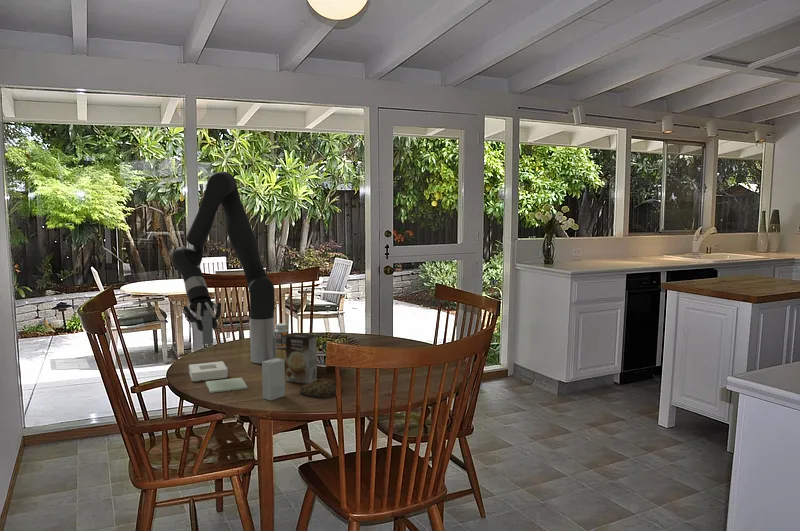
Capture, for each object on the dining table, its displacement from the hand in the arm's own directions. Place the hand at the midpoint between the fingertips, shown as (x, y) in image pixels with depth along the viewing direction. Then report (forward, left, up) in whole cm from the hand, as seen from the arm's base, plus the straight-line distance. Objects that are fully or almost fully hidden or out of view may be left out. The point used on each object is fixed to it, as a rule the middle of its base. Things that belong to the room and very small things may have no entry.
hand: (208, 329), depth 216 cm
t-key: (0, -2, -5) cm, 6 cm away
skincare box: (-16, +33, -17) cm, 41 cm away
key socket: (0, -2, -17) cm, 17 cm away
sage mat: (-4, +14, -17) cm, 23 cm away
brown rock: (-31, +34, -18) cm, 49 cm away
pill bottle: (-34, -34, -17) cm, 51 cm away
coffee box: (-29, +18, -17) cm, 38 cm away
